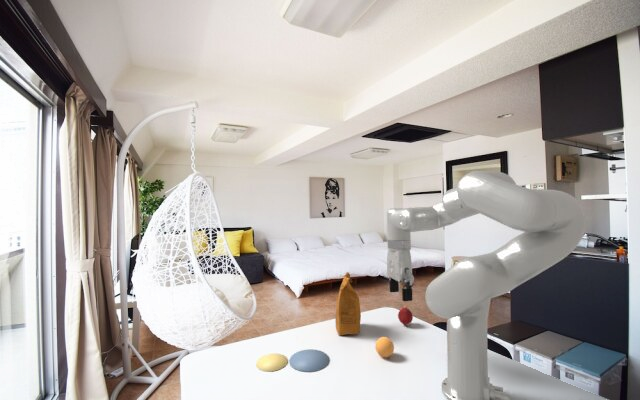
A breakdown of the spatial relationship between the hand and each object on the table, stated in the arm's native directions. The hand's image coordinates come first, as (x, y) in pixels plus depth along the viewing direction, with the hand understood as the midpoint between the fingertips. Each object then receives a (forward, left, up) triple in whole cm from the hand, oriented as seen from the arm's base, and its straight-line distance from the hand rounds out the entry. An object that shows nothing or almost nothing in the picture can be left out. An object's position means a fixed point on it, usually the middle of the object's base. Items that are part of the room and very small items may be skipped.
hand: (400, 296), depth 97 cm
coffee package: (+24, -8, -20) cm, 32 cm away
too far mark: (+35, +25, -20) cm, 47 cm away
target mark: (+25, +18, -20) cm, 36 cm away
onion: (+5, -23, -20) cm, 31 cm away
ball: (+5, +4, -17) cm, 17 cm away
